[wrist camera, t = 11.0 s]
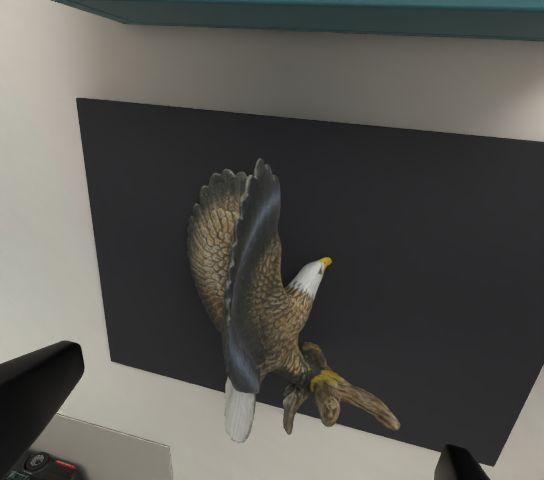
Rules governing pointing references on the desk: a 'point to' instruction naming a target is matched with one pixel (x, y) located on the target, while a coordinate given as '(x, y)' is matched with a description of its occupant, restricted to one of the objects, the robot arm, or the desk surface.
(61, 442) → the grey flat slab
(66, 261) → the desk surface
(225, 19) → the tray
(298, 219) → the drying mat
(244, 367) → the eagle figurine
